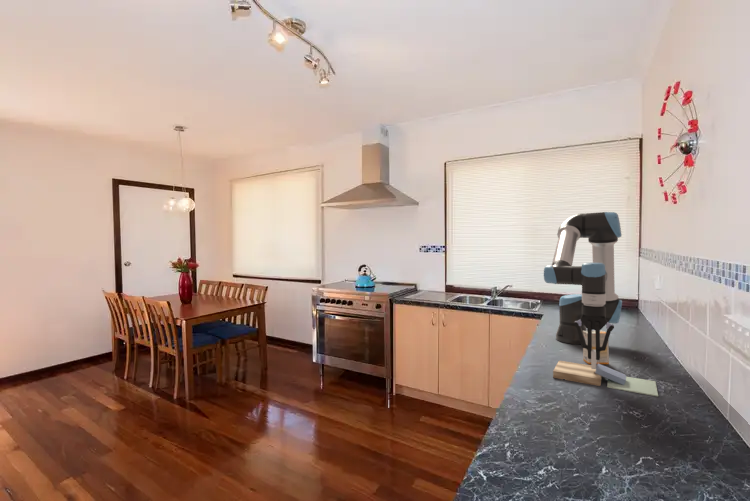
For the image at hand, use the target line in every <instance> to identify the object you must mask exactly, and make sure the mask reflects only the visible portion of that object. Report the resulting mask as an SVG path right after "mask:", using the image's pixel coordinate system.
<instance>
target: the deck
mask: <svg viewBox="0 0 750 501" xmlns="http://www.w3.org/2000/svg"><path fill="white" fill-rule="evenodd" d="M596 368H597V367H596ZM595 371H596V369H591V364H583V363H577V362H572V361H564V360H558V362H557V363H556V365H555V367H554V369H553V370H552V378H553V379H559V380H563V379H565V381H569V382H570V381H571V382H576V383H581V384H586V385H592V386H597V387H601V384H602V378H603V376H601V375H598V374H596V373H595Z"/></svg>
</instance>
